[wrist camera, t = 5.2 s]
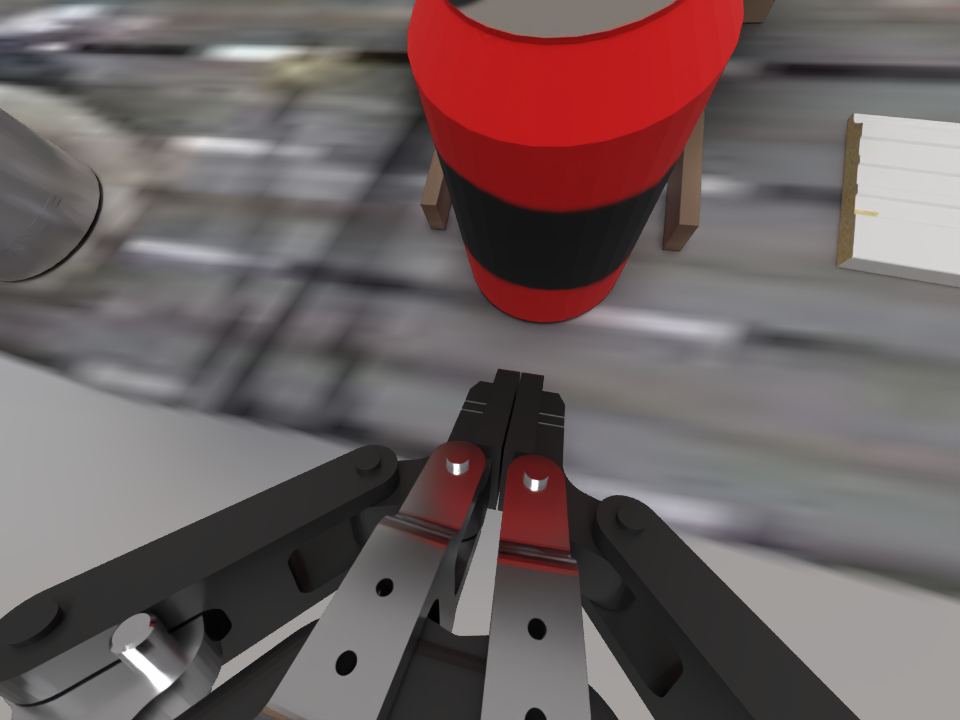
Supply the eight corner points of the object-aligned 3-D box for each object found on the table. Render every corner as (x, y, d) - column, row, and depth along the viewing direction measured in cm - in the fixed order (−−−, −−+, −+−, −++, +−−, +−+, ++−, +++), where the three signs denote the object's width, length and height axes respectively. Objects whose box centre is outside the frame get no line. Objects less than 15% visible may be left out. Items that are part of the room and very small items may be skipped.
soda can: (452, 225, 20) (346, -98, 8) (582, 172, 20) (660, -234, 8) (502, 348, 18) (454, 144, 6) (649, 290, 17) (887, -34, 6)
